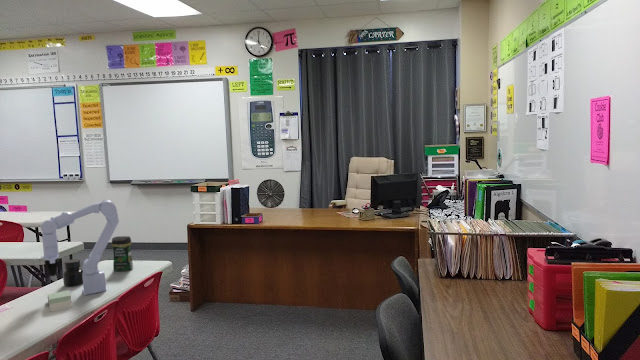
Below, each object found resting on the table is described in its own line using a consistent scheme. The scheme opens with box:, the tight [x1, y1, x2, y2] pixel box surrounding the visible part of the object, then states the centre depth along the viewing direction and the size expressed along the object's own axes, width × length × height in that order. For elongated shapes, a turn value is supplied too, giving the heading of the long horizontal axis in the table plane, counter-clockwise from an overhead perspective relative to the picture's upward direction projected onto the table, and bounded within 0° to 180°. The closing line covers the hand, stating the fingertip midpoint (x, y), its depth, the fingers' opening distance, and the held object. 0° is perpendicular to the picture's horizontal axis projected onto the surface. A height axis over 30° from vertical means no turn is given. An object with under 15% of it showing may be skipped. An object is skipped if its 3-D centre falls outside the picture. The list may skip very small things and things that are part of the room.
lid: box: [47, 290, 72, 305], centre depth 192 cm, size 8×8×2 cm
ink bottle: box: [62, 258, 83, 288], centre depth 221 cm, size 10×9×12 cm
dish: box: [48, 299, 73, 313], centre depth 191 cm, size 8×8×3 cm
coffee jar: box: [111, 235, 134, 272], centre depth 244 cm, size 10×8×19 cm
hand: (53, 275), depth 202 cm, fingers closed
